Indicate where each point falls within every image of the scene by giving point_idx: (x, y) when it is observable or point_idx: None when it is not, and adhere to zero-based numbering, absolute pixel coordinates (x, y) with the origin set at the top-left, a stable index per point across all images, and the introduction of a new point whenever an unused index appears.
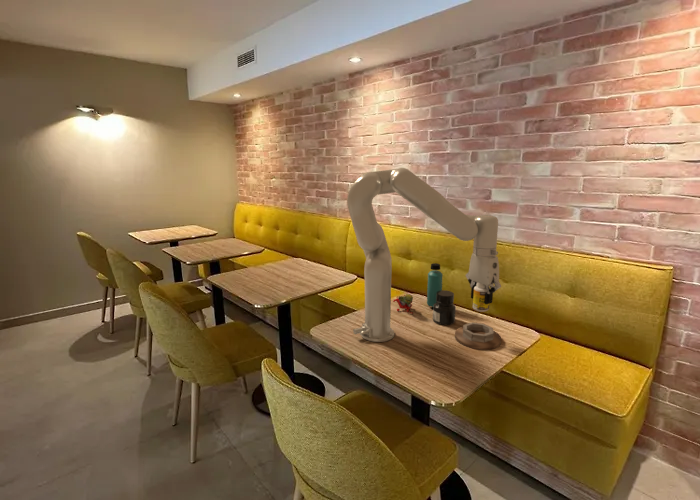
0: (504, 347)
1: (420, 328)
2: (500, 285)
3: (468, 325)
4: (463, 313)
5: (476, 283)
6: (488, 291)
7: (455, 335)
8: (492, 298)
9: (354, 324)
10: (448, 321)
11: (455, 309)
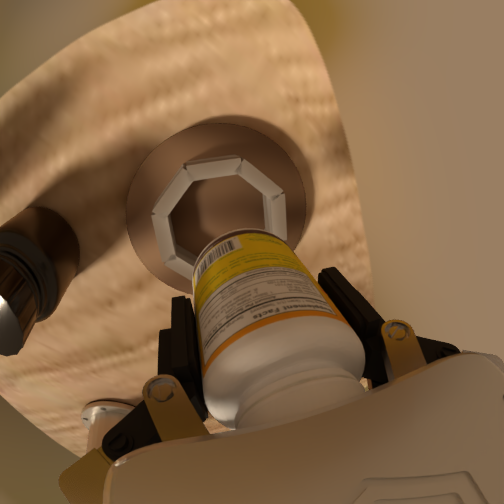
0: (310, 164)
1: (91, 342)
2: (501, 370)
3: (173, 245)
4: (4, 132)
5: (179, 415)
6: (386, 380)
7: (184, 290)
8: (366, 300)
9: (69, 430)
10: (75, 261)
11: (39, 240)
